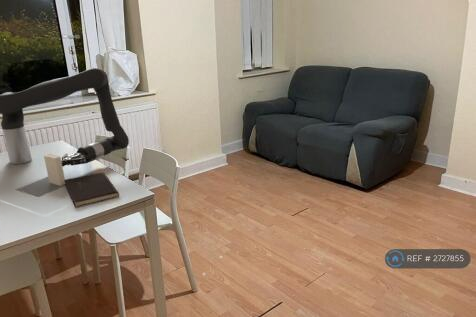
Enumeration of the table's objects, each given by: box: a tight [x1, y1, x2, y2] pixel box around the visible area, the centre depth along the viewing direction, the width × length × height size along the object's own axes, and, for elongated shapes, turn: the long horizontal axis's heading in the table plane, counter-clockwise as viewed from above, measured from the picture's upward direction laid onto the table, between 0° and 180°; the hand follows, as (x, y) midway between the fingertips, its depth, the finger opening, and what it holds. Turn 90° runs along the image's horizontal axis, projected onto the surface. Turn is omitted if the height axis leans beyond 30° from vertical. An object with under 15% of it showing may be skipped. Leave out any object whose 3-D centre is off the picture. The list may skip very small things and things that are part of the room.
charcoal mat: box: [15, 176, 66, 198], centre depth 156 cm, size 15×15×1 cm
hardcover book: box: [64, 171, 120, 208], centre depth 150 cm, size 16×23×2 cm
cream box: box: [43, 153, 66, 186], centre depth 156 cm, size 7×3×12 cm, turn 61°
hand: (57, 165), depth 157 cm, fingers closed
